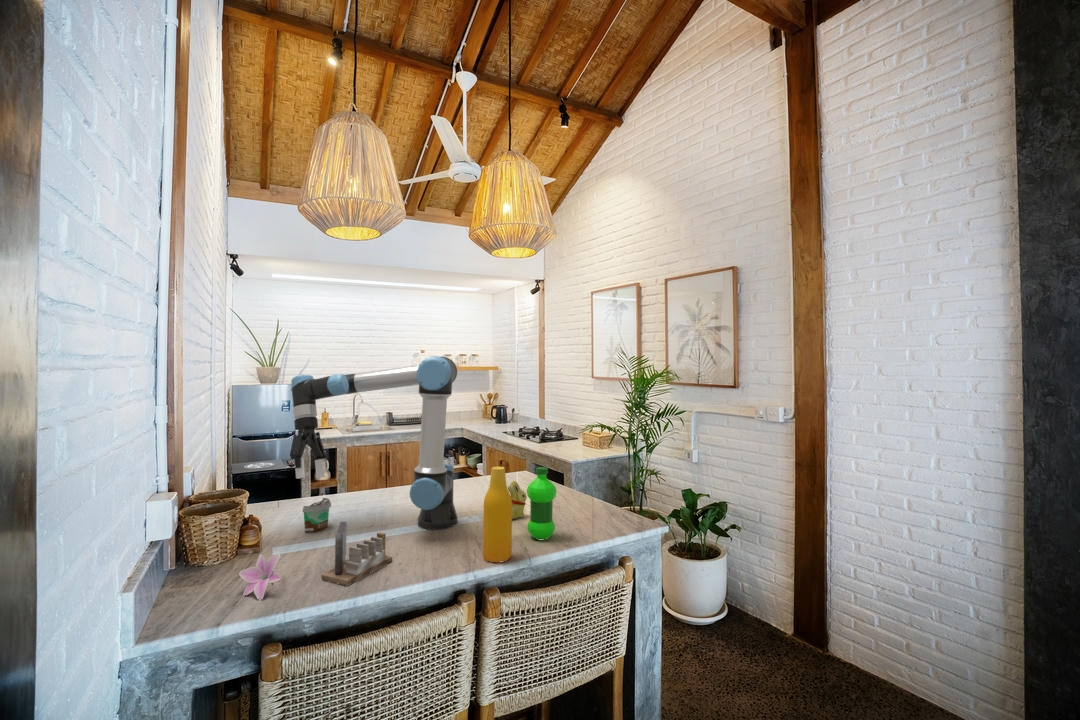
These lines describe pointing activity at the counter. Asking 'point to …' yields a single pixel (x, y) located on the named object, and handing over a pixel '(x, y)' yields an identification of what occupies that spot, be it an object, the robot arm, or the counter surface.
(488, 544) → the beer bottle
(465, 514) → the counter surface
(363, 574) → the grey model on base
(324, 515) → the food container
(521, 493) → the chocolate bunny
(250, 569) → the lily
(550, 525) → the plastic bottle
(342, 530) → the grey stone panel
